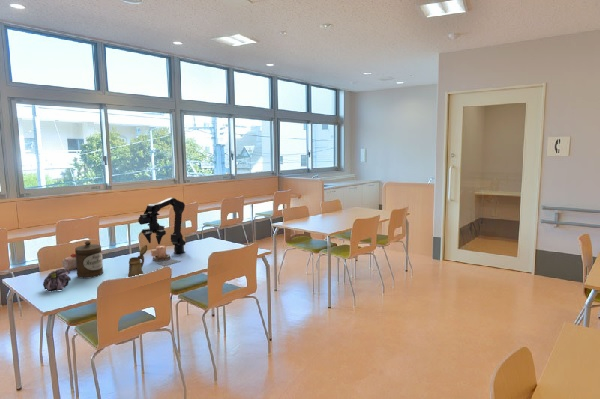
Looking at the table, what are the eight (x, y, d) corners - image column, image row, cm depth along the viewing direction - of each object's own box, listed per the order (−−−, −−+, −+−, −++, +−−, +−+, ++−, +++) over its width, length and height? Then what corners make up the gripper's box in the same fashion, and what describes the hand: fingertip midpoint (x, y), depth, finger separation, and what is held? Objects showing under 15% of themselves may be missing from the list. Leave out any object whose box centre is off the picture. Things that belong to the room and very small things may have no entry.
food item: (66, 271, 264) (65, 257, 263) (62, 269, 269) (60, 255, 268) (88, 266, 274) (87, 252, 273) (83, 264, 280) (82, 250, 278)
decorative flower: (33, 276, 225) (56, 261, 237) (36, 291, 230) (59, 276, 243) (53, 285, 221) (75, 270, 234) (56, 300, 227) (78, 285, 239)
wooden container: (89, 279, 248) (86, 244, 245) (71, 276, 253) (68, 242, 250) (108, 272, 262) (105, 239, 259) (91, 270, 267) (88, 237, 264)
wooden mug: (152, 272, 259) (150, 245, 257) (132, 278, 249) (131, 250, 246) (144, 270, 265) (143, 243, 262) (125, 275, 254) (123, 248, 252)
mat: (172, 259, 290) (172, 259, 290) (180, 261, 284) (180, 261, 284) (157, 263, 279) (157, 263, 279) (165, 266, 274) (165, 265, 274)
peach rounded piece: (161, 257, 296) (161, 245, 295) (168, 258, 293) (167, 246, 292) (149, 261, 286) (148, 249, 285) (156, 262, 283) (155, 250, 282)
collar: (163, 255, 300) (163, 253, 300) (173, 258, 293) (173, 255, 293) (149, 259, 291) (149, 256, 290) (159, 262, 284) (159, 259, 283)
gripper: (171, 221, 287) (172, 242, 289) (152, 219, 295) (154, 240, 298) (159, 224, 277) (160, 246, 279) (140, 221, 286) (141, 243, 288)
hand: (154, 243), depth 286 cm, fingers open, 9 cm apart
